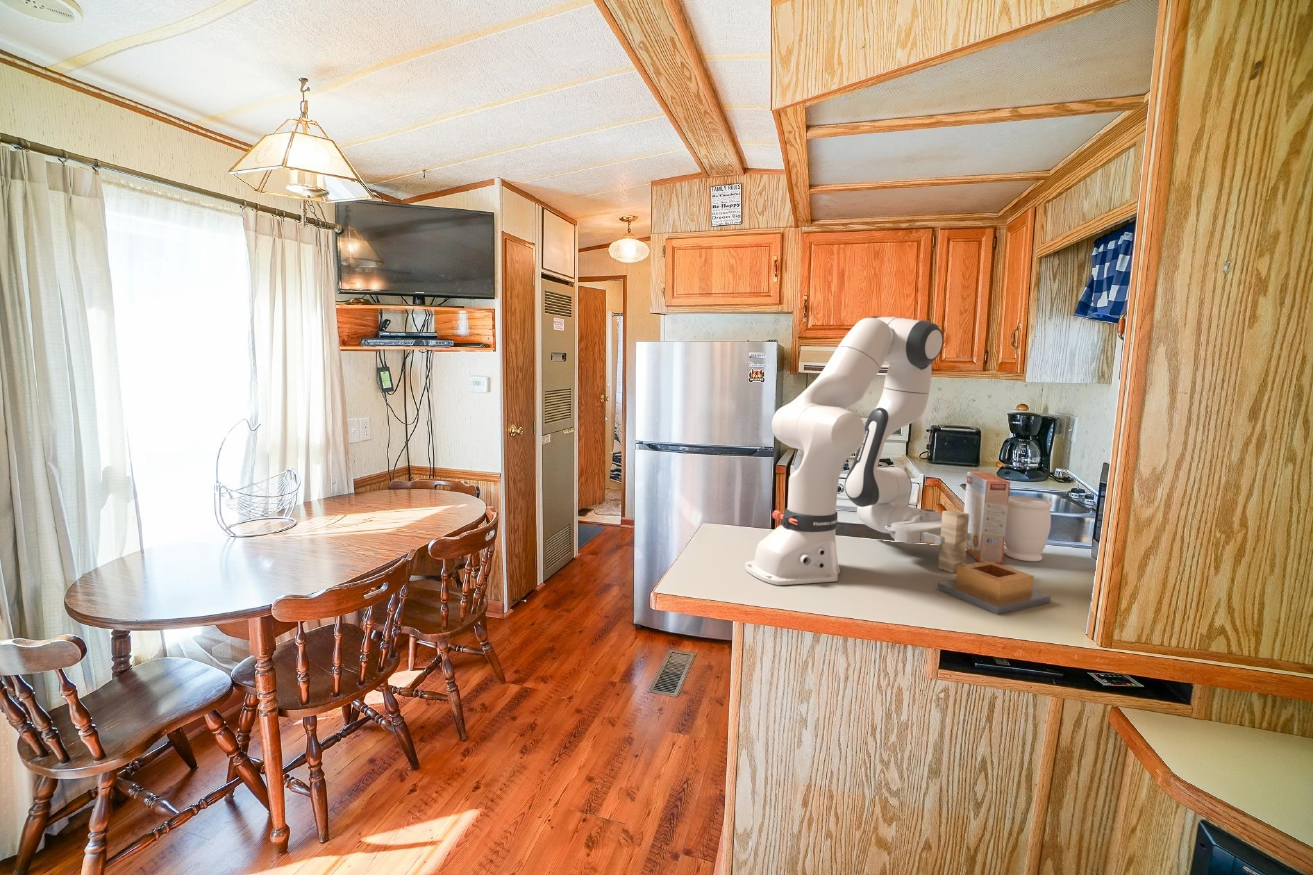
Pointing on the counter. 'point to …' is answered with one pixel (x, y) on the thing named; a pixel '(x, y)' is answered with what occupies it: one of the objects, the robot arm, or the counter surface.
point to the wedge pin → (953, 540)
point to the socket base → (994, 587)
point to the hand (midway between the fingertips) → (956, 539)
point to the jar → (1027, 527)
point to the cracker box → (986, 515)
